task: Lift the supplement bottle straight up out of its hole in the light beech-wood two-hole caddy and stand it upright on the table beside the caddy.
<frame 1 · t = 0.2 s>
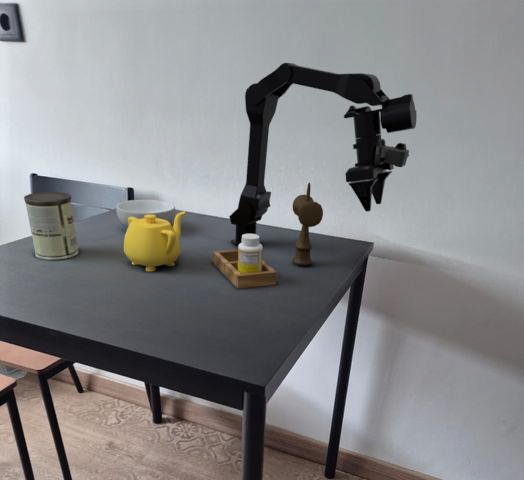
hand: (373, 207, 115), 15 cm above the table, tool pointing down, fingers open, 9 cm apart
caddy: (242, 273, 116), on the table
coffee can: (57, 254, 122), on the table
teapot: (159, 262, 120), on the table
supplement bottle: (249, 280, 112), resting in caddy
kendama: (301, 264, 124), on the table
cereal bowl: (147, 230, 144), on the table
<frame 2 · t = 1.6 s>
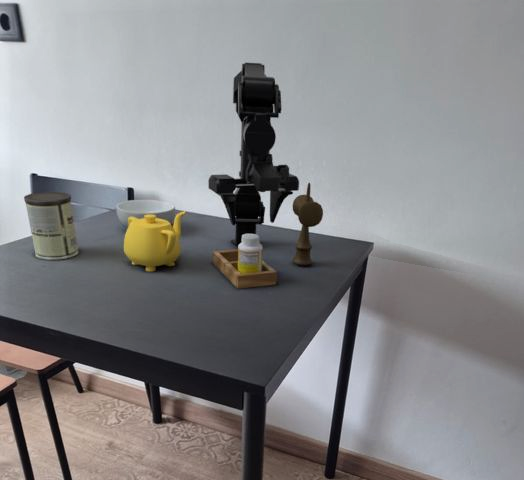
hand: (253, 223, 106), 13 cm above the table, tool pointing down, fingers open, 9 cm apart
nothing on the table moved.
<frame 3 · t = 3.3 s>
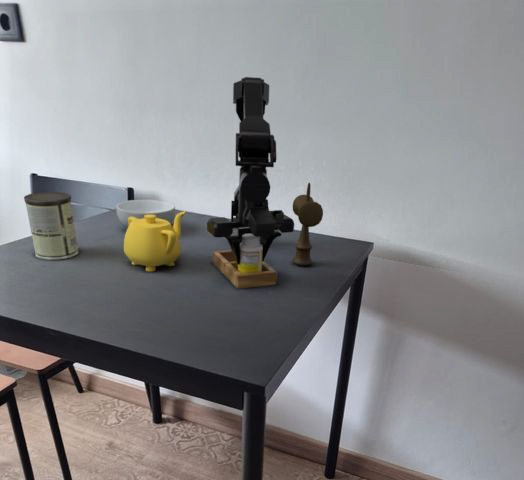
hand: (249, 262, 110), 4 cm above the table, tool pointing down, fingers closed on supplement bottle, 5 cm apart
supplement bottle: (249, 280, 112), resting in caddy, touching gripper
everything else where it was.
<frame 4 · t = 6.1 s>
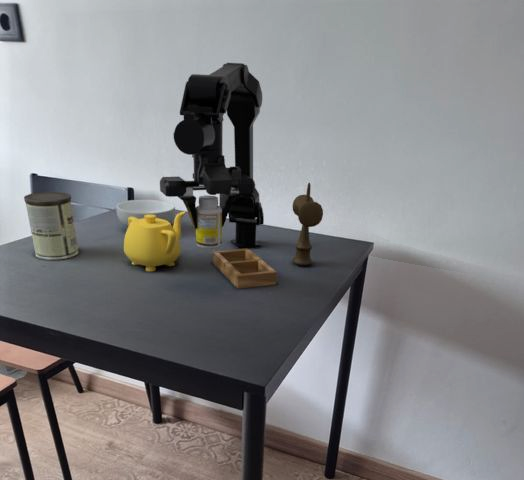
hand: (208, 227, 103), 13 cm above the table, tool pointing down, fingers closed on supplement bottle, 5 cm apart
supplement bottle: (209, 246, 105), point 9 cm above the table, touching gripper
everything else where it was.
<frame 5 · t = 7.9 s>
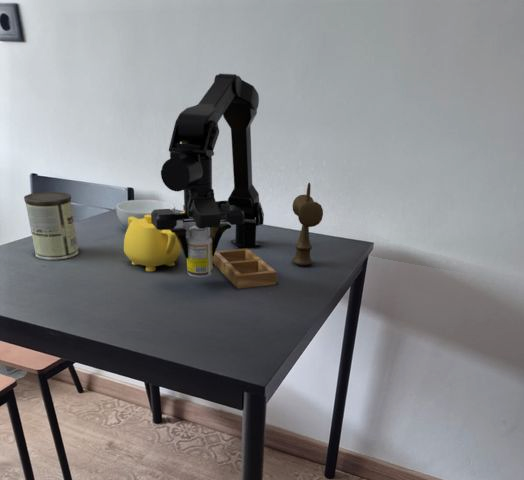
hand: (199, 256, 105), 6 cm above the table, tool pointing down, fingers closed on supplement bottle, 5 cm apart
supplement bottle: (199, 274, 107), point 2 cm above the table, touching gripper
everything else where it was.
when the fingers open (4 cm above the table, at t = 9.2 s): supplement bottle stays where it is, on the table.
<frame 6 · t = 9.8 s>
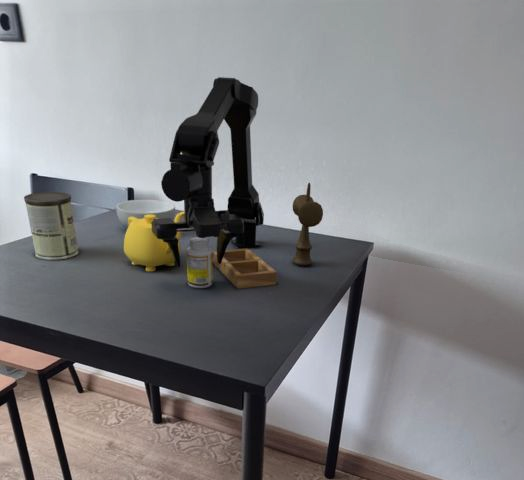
hand: (199, 265, 106), 5 cm above the table, tool pointing down, fingers open, 9 cm apart
supplement bottle: (200, 285, 108), on the table
everything else where it was.
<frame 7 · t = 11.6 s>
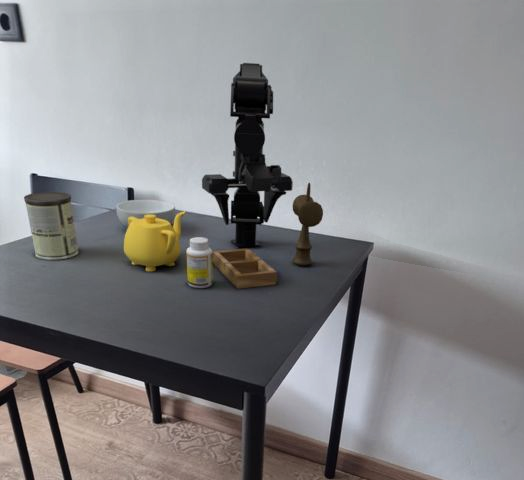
hand: (246, 223, 107), 13 cm above the table, tool pointing down, fingers open, 9 cm apart
nothing on the table moved.
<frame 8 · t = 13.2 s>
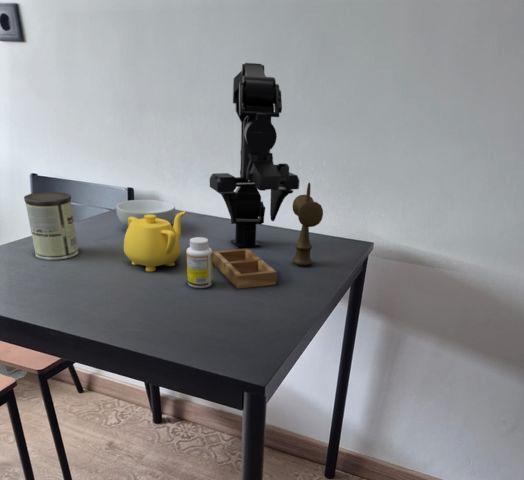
hand: (253, 221, 107), 13 cm above the table, tool pointing down, fingers open, 9 cm apart
nothing on the table moved.
at the end: supplement bottle inside the target area (0.1 cm from its centre), on the table; supplement bottle tilted 0°; supplement bottle touching table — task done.
